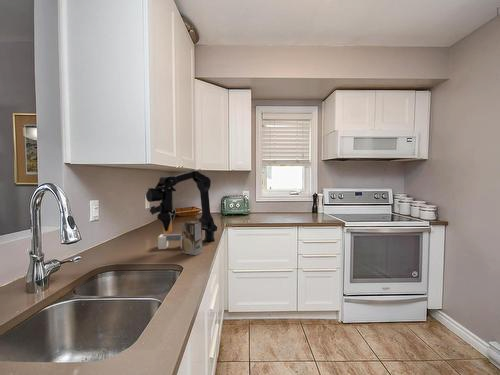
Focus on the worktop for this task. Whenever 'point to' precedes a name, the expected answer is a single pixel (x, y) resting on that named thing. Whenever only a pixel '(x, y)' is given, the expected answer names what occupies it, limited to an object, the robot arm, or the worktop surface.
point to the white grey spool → (165, 238)
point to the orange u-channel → (168, 229)
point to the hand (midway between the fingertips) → (167, 229)
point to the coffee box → (192, 237)
